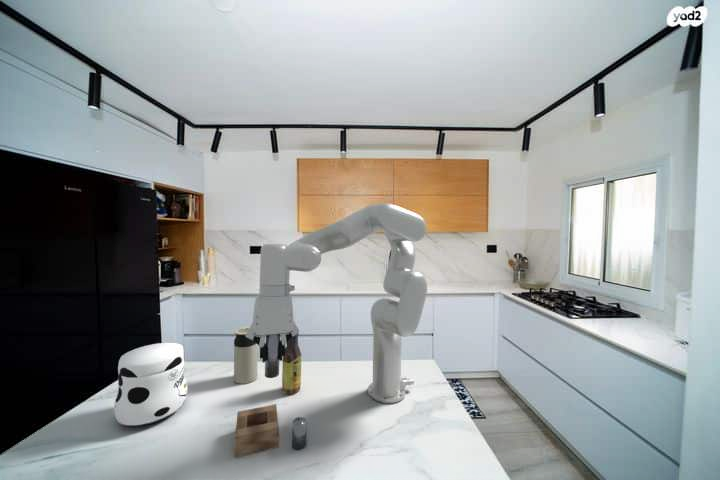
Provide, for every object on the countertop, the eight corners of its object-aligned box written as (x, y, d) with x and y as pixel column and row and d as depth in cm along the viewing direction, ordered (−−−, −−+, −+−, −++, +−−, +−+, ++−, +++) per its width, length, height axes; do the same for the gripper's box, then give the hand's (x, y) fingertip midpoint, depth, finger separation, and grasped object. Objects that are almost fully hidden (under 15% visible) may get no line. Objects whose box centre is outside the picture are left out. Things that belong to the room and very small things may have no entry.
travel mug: (252, 384, 99) (252, 334, 98) (229, 384, 99) (230, 333, 98) (260, 373, 107) (260, 326, 106) (239, 373, 107) (240, 326, 106)
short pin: (305, 438, 73) (305, 415, 73) (307, 448, 70) (307, 424, 70) (291, 441, 72) (291, 418, 72) (292, 452, 69) (293, 427, 68)
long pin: (278, 370, 77) (279, 326, 77) (279, 376, 73) (280, 331, 73) (264, 372, 75) (266, 327, 75) (264, 378, 72) (266, 332, 72)
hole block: (276, 421, 80) (276, 404, 79) (278, 446, 70) (278, 427, 70) (237, 429, 76) (237, 411, 76) (234, 457, 67) (234, 436, 67)
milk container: (200, 404, 87) (200, 347, 87) (136, 441, 71) (136, 371, 71) (165, 390, 94) (165, 337, 94) (101, 421, 79) (100, 358, 78)
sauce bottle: (296, 396, 92) (296, 336, 91) (278, 394, 93) (278, 334, 93) (304, 386, 98) (304, 329, 98) (287, 383, 100) (287, 328, 99)
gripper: (303, 287, 81) (301, 350, 81) (241, 288, 75) (239, 357, 75) (308, 292, 73) (305, 361, 74) (239, 294, 68) (237, 370, 68)
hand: (272, 358), depth 74 cm, fingers closed on long pin, 3 cm apart
